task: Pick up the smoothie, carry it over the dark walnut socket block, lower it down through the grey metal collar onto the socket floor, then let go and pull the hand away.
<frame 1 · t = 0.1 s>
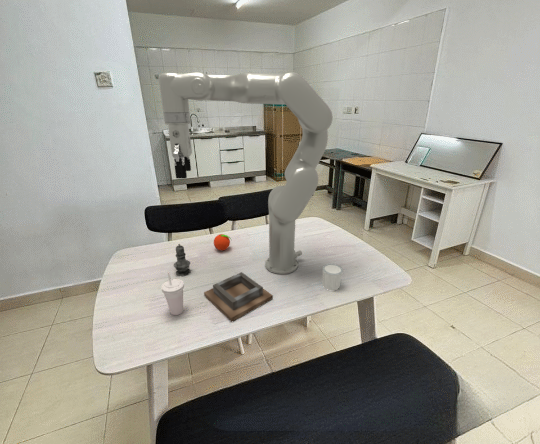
hand: (184, 174, 94), 37 cm above the table, tool pointing down, fingers open, 9 cm apart
shot glass: (331, 286, 100), on the table
chess piece: (183, 272, 108), on the table
clementine: (223, 249, 124), on the table
socket block: (238, 297, 94), on the table
smoothie: (177, 311, 88), on the table
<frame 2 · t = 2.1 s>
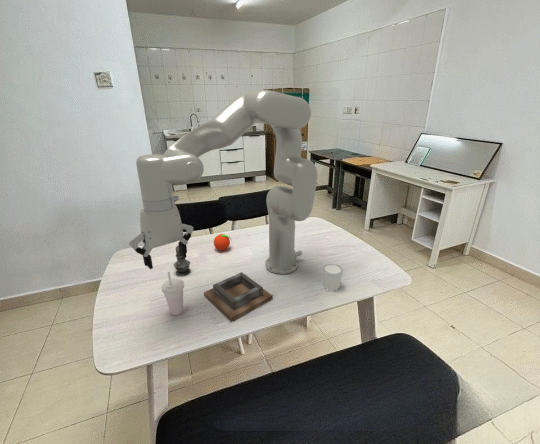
hand: (166, 261, 81), 18 cm above the table, tool pointing down, fingers open, 9 cm apart
nothing on the table moved.
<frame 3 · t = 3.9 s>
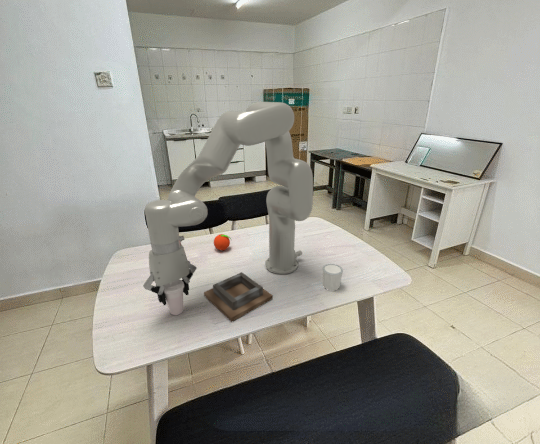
hand: (174, 297, 86), 5 cm above the table, tool pointing down, fingers closed on smoothie, 6 cm apart
smoothie: (177, 311, 88), on the table, touching gripper
everything else where it was.
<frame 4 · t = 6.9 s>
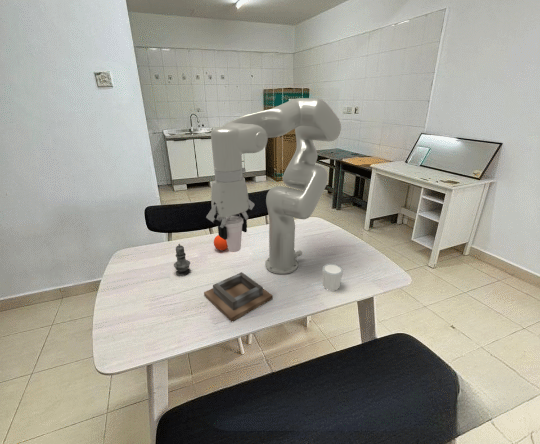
hand: (233, 233, 85), 23 cm above the table, tool pointing down, fingers closed on smoothie, 6 cm apart
smoothie: (234, 249, 87), point 18 cm above the table, touching gripper
everything else where it was.
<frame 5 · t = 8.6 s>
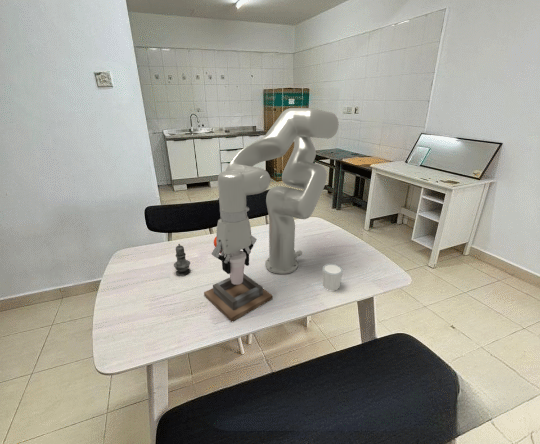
hand: (236, 267, 90), 12 cm above the table, tool pointing down, fingers closed on smoothie, 6 cm apart
smoothie: (237, 281, 92), point 6 cm above the table, touching gripper
everything else where it was.
when the fingers open (7 cm above the table, at t = 9.9 s): smoothie stays where it is, resting on socket block.
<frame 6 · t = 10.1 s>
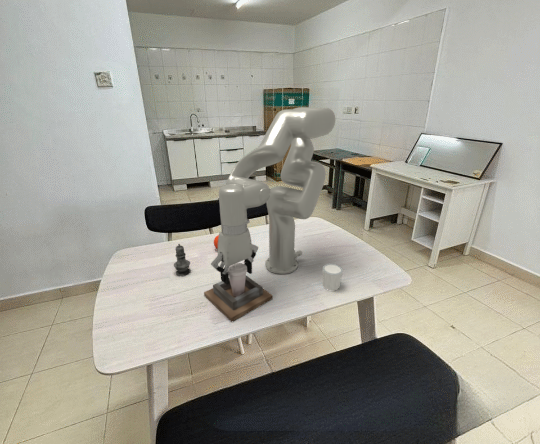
hand: (237, 276, 91), 8 cm above the table, tool pointing down, fingers open, 8 cm apart
smoothie: (238, 293, 94), point 1 cm above the table, touching socket block
everything else where it was.
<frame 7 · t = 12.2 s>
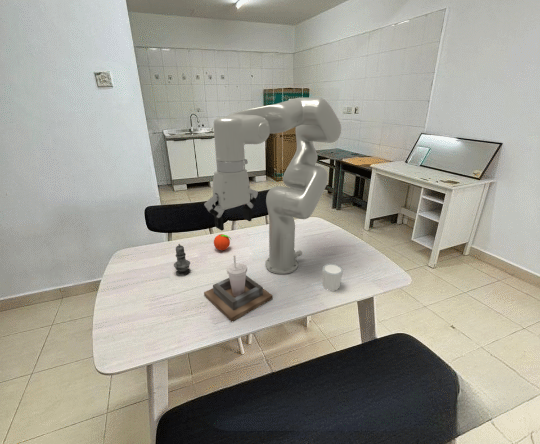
hand: (234, 224, 84), 26 cm above the table, tool pointing down, fingers open, 9 cm apart
nothing on the table moved.
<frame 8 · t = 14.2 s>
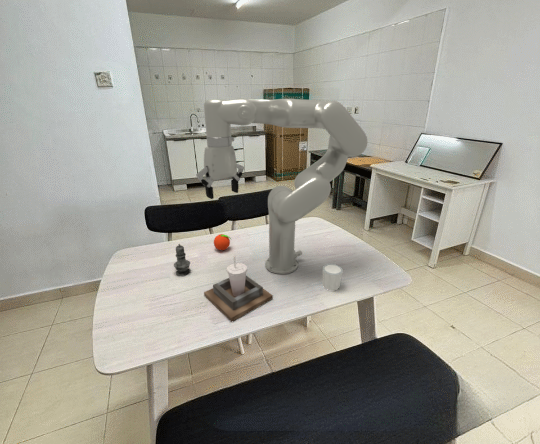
hand: (223, 194, 96), 30 cm above the table, tool pointing down, fingers open, 9 cm apart
nothing on the table moved.
at the end: smoothie 0.2 cm off-centre on the socket block, point 1.3 cm above the socket block's base; smoothie tilted 0°; the gripper is holding nothing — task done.
